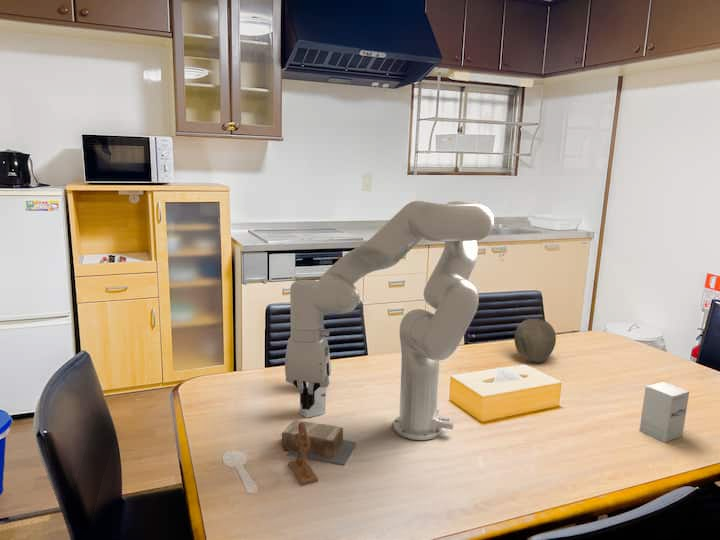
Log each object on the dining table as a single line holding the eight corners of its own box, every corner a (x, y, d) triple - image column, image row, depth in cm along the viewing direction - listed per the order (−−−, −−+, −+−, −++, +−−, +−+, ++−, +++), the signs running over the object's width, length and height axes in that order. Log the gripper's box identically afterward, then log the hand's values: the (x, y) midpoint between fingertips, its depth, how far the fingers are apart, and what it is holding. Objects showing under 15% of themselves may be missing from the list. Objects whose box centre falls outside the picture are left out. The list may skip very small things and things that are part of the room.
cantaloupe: (560, 368, 179) (564, 326, 177) (518, 367, 180) (522, 325, 177) (546, 353, 193) (550, 314, 190) (507, 352, 193) (511, 313, 191)
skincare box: (306, 418, 140) (306, 376, 138) (299, 412, 144) (298, 370, 142) (326, 413, 144) (327, 371, 141) (318, 406, 147) (318, 366, 145)
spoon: (241, 498, 107) (241, 495, 107) (219, 455, 122) (219, 453, 122) (266, 490, 110) (266, 488, 110) (241, 449, 125) (241, 447, 125)
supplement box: (665, 443, 131) (672, 396, 129) (638, 430, 138) (644, 385, 135) (683, 437, 134) (690, 391, 132) (656, 424, 141) (662, 380, 138)
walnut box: (293, 434, 131) (342, 443, 128) (281, 448, 124) (333, 458, 121) (293, 418, 130) (343, 426, 127) (281, 432, 124) (333, 441, 120)
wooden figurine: (287, 465, 119) (287, 416, 116) (303, 461, 120) (303, 412, 118) (301, 486, 111) (301, 434, 108) (318, 481, 113) (318, 430, 110)
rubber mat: (356, 443, 128) (356, 441, 128) (344, 465, 119) (344, 463, 119) (303, 434, 132) (303, 433, 132) (287, 455, 123) (287, 453, 122)
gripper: (342, 331, 122) (342, 404, 126) (284, 325, 126) (285, 396, 130) (332, 342, 115) (332, 418, 119) (270, 335, 119) (272, 409, 123)
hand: (307, 407), depth 124 cm, fingers closed
